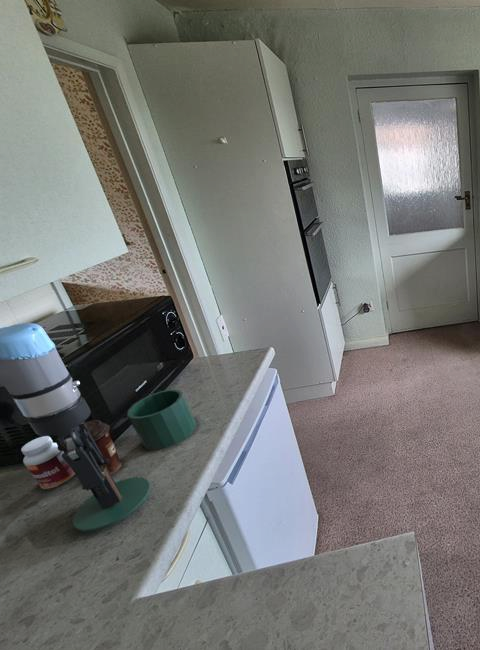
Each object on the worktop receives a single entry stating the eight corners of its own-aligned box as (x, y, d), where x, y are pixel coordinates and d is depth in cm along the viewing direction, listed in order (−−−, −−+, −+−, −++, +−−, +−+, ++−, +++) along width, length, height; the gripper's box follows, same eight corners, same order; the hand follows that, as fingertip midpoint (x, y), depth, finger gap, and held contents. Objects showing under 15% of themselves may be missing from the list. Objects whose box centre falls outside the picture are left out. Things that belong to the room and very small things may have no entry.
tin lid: (59, 540, 72) (34, 506, 69) (100, 488, 83) (80, 456, 80) (132, 525, 74) (111, 491, 71) (162, 475, 86) (146, 444, 82)
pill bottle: (35, 494, 85) (8, 458, 81) (50, 474, 91) (25, 439, 86) (70, 484, 87) (45, 447, 83) (82, 465, 93) (59, 430, 88)
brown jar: (106, 487, 86) (78, 443, 80) (71, 489, 86) (41, 445, 81) (136, 458, 93) (113, 416, 88) (104, 459, 94) (79, 417, 89)
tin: (135, 455, 94) (117, 422, 90) (158, 425, 104) (142, 394, 100) (185, 445, 96) (169, 412, 92) (203, 417, 106) (189, 386, 102)
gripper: (81, 416, 65) (137, 511, 75) (83, 379, 76) (130, 467, 86) (19, 439, 61) (86, 537, 70) (30, 396, 72) (87, 486, 81)
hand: (111, 498), depth 78 cm, fingers closed on tin lid, 3 cm apart
